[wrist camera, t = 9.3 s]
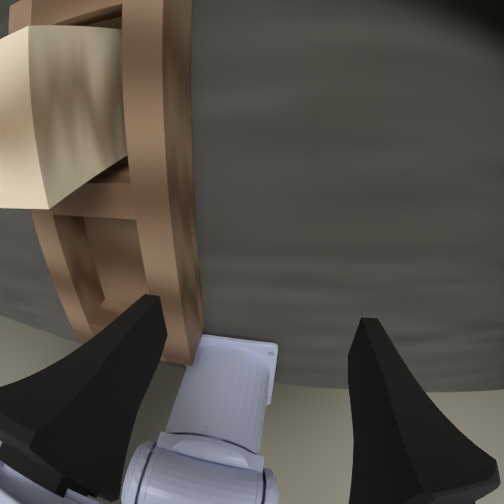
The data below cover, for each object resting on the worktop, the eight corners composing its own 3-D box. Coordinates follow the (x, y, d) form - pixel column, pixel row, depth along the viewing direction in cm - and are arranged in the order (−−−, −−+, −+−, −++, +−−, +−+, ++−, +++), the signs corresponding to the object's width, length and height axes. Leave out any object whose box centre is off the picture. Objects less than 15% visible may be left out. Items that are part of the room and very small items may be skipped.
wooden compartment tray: (204, 327, 25) (191, 366, 22) (98, 309, 26) (78, 340, 23) (193, -30, 12) (166, -51, 8) (51, 7, 13) (10, 6, 9)
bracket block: (137, 149, 17) (49, 209, 10) (83, 151, 17) (-8, 207, 11) (132, 30, 13) (28, 25, 6) (75, 43, 14) (-31, 56, 7)
